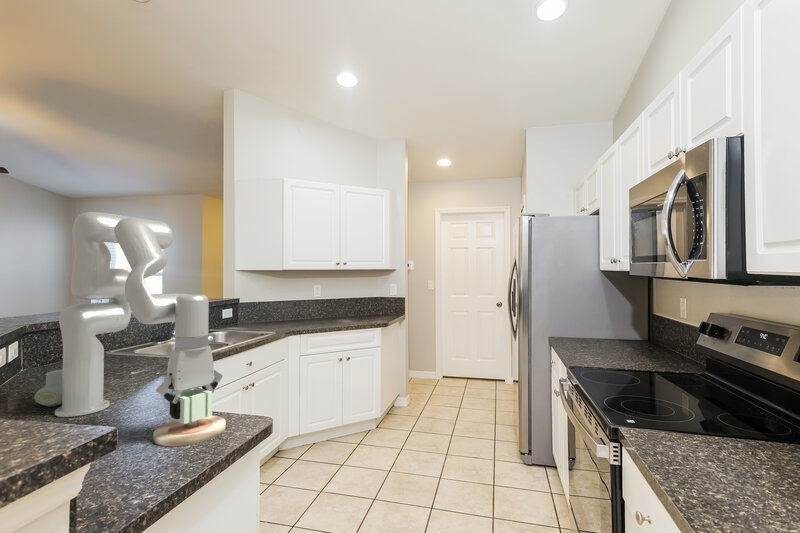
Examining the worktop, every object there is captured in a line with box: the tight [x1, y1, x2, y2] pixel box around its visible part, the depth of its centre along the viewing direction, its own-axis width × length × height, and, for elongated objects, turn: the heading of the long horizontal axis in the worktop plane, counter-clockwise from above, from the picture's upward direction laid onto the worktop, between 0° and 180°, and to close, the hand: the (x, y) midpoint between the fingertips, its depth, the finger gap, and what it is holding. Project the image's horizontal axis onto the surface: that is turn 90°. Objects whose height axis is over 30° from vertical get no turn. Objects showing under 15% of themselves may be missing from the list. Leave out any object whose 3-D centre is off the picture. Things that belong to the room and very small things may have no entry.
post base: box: [152, 414, 227, 447], centre depth 97 cm, size 16×16×8 cm
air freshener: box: [34, 368, 63, 407], centre depth 121 cm, size 11×8×10 cm
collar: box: [169, 387, 213, 424], centre depth 98 cm, size 7×7×6 cm
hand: (191, 412), depth 97 cm, fingers closed on collar, 7 cm apart
